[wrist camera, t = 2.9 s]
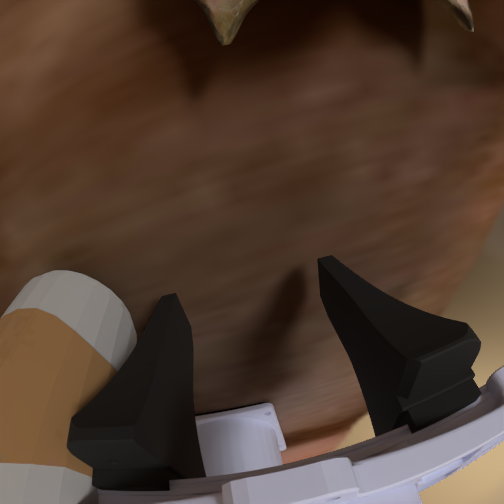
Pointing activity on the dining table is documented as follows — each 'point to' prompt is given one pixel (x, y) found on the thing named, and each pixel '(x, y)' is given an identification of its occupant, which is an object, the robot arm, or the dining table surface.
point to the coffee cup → (55, 382)
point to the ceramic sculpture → (240, 3)
